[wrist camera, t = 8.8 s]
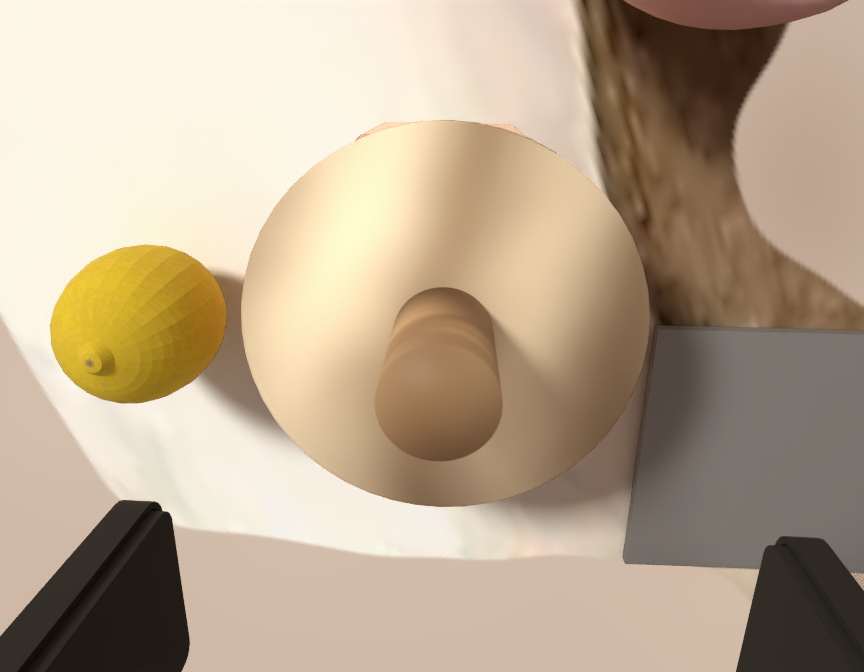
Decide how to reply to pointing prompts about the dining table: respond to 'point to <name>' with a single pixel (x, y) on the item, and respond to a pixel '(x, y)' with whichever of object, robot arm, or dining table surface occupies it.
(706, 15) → the mortar and pestle
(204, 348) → the lemon
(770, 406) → the mat
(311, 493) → the dining table surface
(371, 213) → the lid
